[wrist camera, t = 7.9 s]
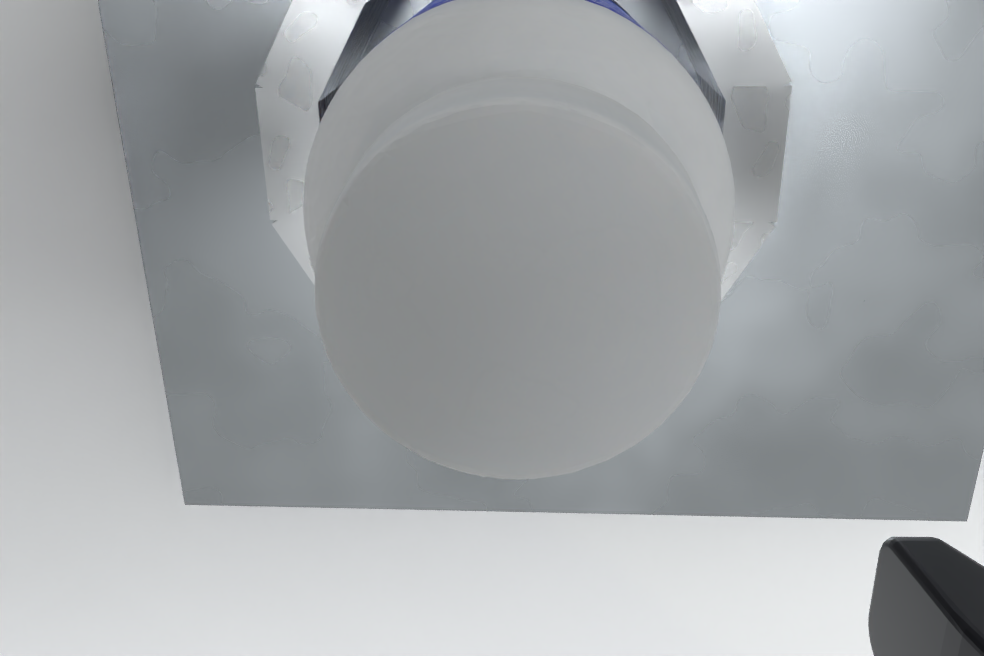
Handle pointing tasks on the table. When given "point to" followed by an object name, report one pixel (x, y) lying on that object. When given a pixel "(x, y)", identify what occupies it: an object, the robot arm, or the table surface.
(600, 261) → the pill bottle
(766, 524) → the table surface
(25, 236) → the table surface
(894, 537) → the robot arm
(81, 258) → the table surface
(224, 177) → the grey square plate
